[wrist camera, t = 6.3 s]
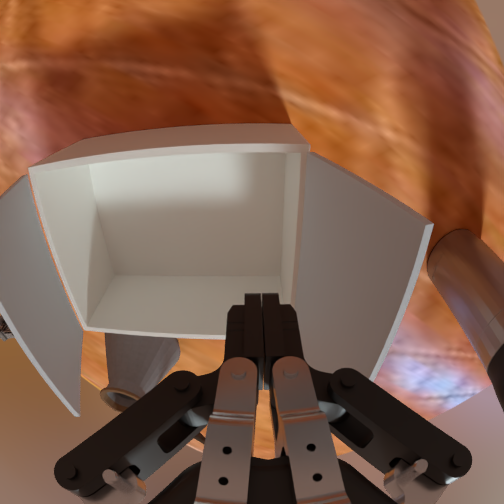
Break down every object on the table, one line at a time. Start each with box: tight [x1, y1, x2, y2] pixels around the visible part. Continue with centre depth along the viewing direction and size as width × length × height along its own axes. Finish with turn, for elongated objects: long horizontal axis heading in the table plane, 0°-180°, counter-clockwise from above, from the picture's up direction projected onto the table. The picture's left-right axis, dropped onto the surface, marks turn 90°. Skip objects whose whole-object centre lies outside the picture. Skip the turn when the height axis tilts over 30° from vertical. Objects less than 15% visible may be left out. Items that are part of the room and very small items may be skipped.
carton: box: [28, 123, 310, 339], centre depth 28 cm, size 22×18×10 cm
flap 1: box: [0, 174, 83, 417], centre depth 19 cm, size 10×17×1 cm
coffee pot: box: [100, 332, 205, 444], centre depth 38 cm, size 21×12×15 cm, turn 50°
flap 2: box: [294, 152, 434, 382], centre depth 19 cm, size 10×17×1 cm
